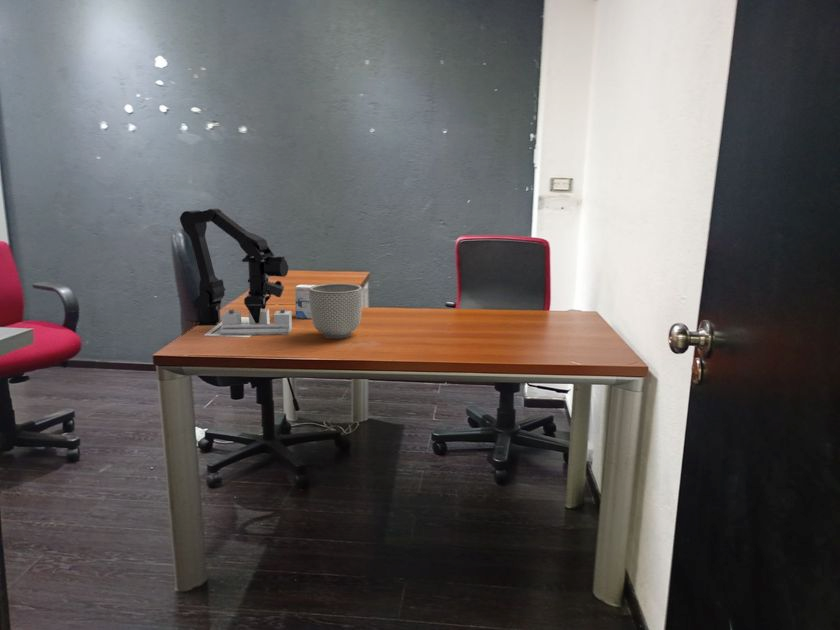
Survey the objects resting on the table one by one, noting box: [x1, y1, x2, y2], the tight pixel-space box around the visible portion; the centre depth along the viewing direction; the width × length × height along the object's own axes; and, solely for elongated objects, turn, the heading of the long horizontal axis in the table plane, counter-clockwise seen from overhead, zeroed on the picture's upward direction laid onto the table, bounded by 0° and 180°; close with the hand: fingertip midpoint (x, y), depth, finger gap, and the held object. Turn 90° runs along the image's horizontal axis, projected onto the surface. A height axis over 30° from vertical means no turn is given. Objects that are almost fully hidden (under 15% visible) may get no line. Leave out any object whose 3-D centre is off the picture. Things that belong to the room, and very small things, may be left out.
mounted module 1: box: [220, 308, 242, 325], centre depth 208 cm, size 5×6×7 cm
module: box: [248, 308, 271, 324], centre depth 213 cm, size 6×5×7 cm
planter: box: [309, 282, 364, 340], centre depth 201 cm, size 17×17×16 cm
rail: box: [219, 323, 291, 336], centre depth 204 cm, size 22×3×3 cm, turn 94°
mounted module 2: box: [273, 308, 293, 332], centre depth 209 cm, size 5×6×7 cm
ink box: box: [294, 284, 316, 319], centre depth 228 cm, size 9×5×12 cm, turn 84°
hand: (259, 320), depth 213 cm, fingers open, 9 cm apart
